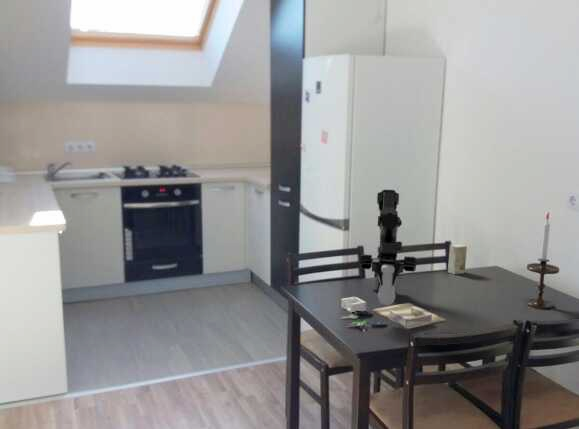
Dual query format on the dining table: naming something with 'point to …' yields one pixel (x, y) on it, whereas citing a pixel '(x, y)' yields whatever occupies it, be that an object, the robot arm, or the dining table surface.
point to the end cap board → (408, 315)
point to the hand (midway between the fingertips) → (387, 285)
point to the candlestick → (542, 271)
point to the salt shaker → (387, 286)
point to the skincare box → (457, 259)
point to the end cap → (353, 304)
